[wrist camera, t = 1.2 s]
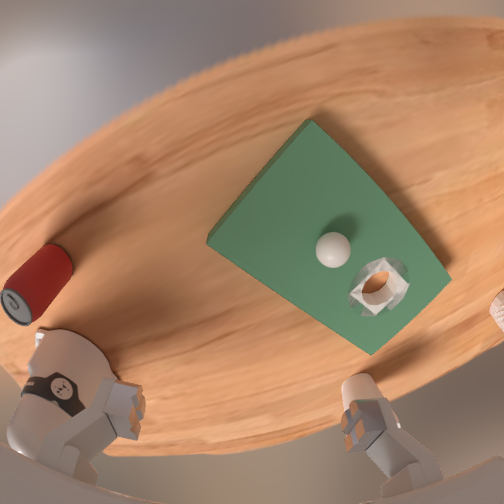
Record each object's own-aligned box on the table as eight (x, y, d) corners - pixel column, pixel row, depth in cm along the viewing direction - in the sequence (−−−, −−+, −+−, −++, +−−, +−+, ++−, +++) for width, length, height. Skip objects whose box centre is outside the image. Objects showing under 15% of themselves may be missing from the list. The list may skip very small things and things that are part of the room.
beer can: (59, 235, 35) (12, 278, 25) (81, 273, 38) (43, 324, 27) (33, 251, 36) (-11, 293, 25) (55, 286, 39) (18, 334, 28)
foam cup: (324, 390, 52) (338, 446, 40) (360, 361, 48) (382, 418, 37) (353, 401, 54) (369, 451, 43) (386, 375, 51) (408, 426, 40)
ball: (327, 263, 36) (337, 280, 32) (305, 244, 34) (312, 261, 31) (350, 240, 34) (362, 255, 31) (328, 219, 33) (339, 233, 30)
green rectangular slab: (365, 343, 46) (371, 355, 44) (208, 233, 36) (206, 244, 34) (442, 269, 41) (452, 279, 38) (306, 119, 31) (312, 120, 28)
